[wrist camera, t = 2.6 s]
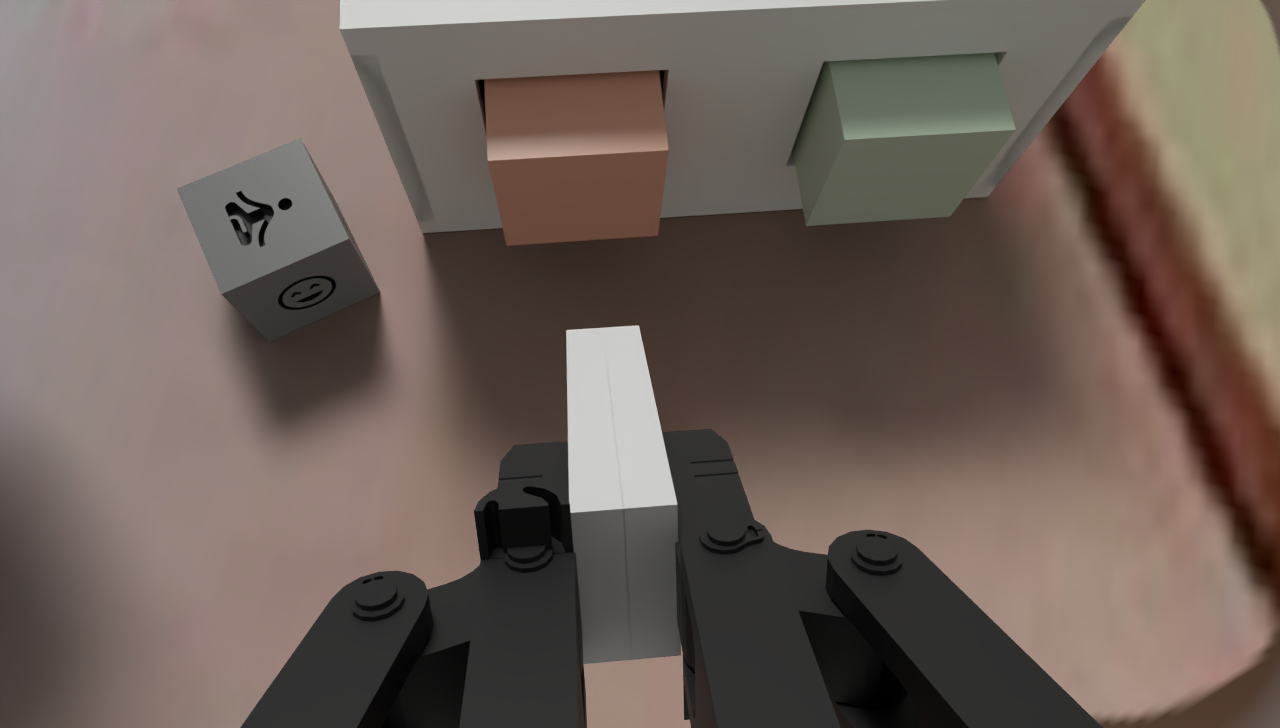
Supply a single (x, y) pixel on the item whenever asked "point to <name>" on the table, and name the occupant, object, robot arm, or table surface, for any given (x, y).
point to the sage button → (899, 136)
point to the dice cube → (277, 241)
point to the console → (690, 79)
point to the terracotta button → (577, 155)
